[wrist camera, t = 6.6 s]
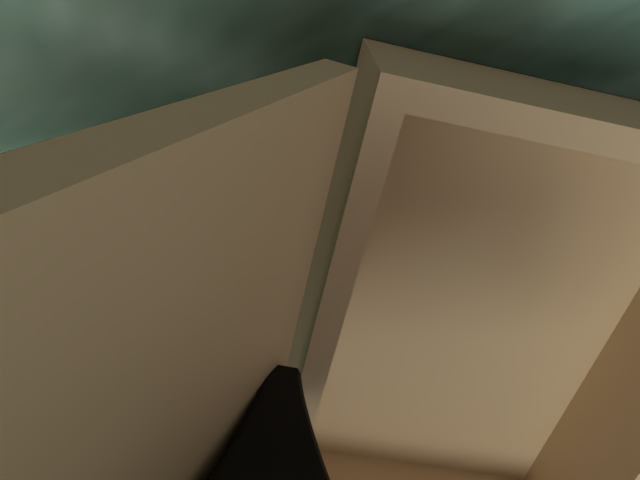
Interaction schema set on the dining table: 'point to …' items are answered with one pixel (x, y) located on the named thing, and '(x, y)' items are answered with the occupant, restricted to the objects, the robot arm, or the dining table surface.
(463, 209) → the box
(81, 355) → the lid
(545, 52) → the dining table surface
